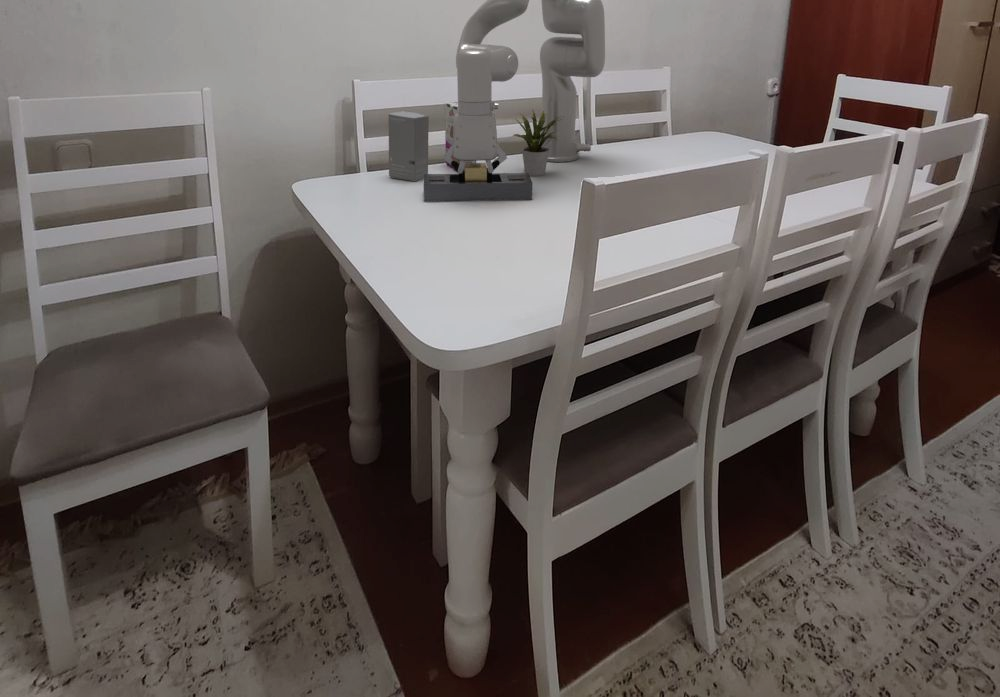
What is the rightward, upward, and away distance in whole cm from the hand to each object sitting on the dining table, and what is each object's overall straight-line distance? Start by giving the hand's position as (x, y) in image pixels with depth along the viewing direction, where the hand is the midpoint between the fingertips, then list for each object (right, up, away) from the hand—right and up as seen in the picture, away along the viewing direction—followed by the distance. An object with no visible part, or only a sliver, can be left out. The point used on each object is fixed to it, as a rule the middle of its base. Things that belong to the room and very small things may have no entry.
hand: (475, 187), depth 167 cm
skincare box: (-17, +6, +15) cm, 24 cm away
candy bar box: (-5, +10, +24) cm, 26 cm away
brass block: (0, -1, 0) cm, 1 cm away
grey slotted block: (+1, -2, +1) cm, 2 cm away
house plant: (+16, +7, +18) cm, 25 cm away
